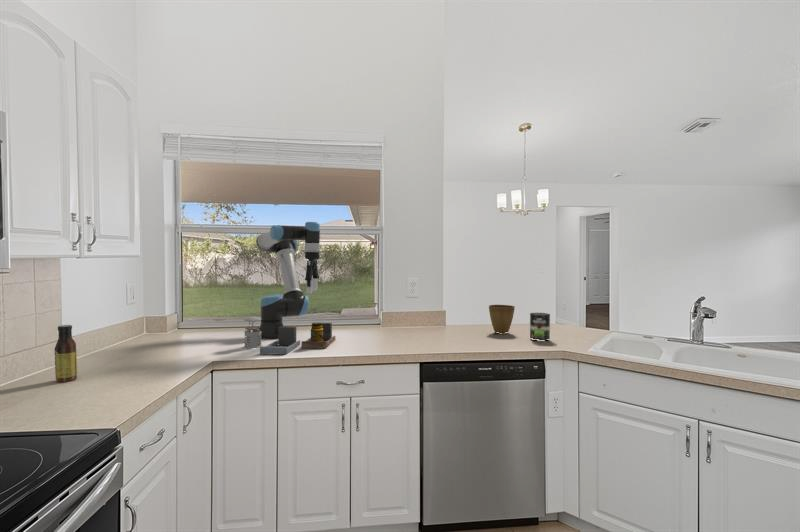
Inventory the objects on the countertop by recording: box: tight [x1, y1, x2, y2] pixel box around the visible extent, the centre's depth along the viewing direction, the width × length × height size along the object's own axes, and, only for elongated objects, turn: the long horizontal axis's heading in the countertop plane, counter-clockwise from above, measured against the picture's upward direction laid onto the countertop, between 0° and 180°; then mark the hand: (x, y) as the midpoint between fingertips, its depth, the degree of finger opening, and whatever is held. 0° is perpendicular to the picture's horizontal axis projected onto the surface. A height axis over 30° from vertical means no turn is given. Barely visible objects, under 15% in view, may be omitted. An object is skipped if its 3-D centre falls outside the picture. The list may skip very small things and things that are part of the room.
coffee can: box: [529, 312, 551, 340], centre depth 233 cm, size 10×10×14 cm
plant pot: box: [488, 304, 515, 333], centre depth 254 cm, size 15×15×16 cm
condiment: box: [310, 322, 323, 341], centre depth 214 cm, size 7×8×12 cm
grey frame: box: [259, 325, 301, 355], centre depth 208 cm, size 22×12×9 cm, turn 176°
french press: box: [242, 296, 263, 350], centre depth 214 cm, size 10×12×25 cm
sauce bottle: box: [54, 324, 78, 383], centre depth 155 cm, size 7×6×20 cm
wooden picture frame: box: [300, 322, 336, 349], centre depth 221 cm, size 22×12×9 cm, turn 176°
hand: (312, 291), depth 227 cm, fingers open, 13 cm apart
